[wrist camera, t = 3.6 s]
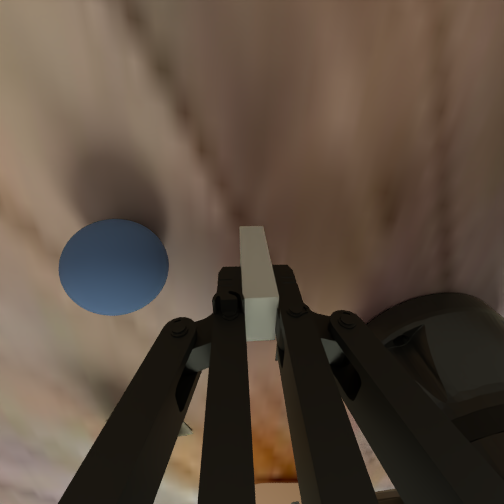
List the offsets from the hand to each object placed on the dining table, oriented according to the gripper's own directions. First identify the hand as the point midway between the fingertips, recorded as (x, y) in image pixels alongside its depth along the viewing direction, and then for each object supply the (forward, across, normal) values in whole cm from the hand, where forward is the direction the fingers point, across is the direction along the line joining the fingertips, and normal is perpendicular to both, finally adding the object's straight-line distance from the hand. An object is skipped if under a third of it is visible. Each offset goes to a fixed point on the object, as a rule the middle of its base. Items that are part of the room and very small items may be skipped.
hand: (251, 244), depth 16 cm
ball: (-1, +8, +1) cm, 8 cm away
